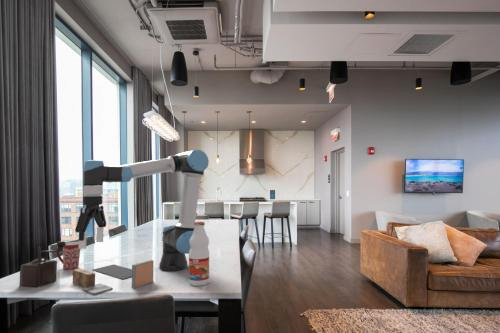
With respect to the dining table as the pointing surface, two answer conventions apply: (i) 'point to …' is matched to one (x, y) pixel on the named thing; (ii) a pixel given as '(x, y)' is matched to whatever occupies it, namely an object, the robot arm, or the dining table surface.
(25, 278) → the manual coffee grinder
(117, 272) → the mat
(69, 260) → the mug
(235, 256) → the dining table surface
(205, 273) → the fruit juice
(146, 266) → the tile
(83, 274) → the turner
